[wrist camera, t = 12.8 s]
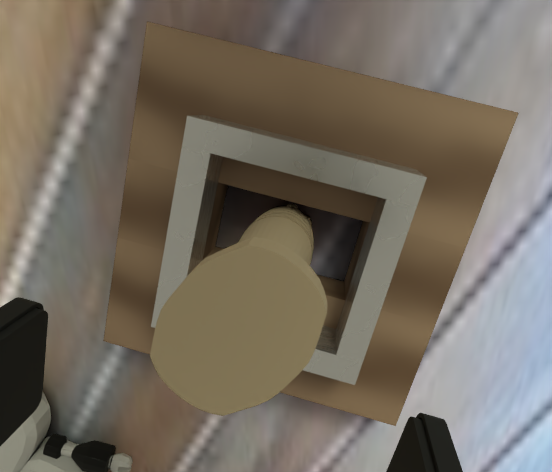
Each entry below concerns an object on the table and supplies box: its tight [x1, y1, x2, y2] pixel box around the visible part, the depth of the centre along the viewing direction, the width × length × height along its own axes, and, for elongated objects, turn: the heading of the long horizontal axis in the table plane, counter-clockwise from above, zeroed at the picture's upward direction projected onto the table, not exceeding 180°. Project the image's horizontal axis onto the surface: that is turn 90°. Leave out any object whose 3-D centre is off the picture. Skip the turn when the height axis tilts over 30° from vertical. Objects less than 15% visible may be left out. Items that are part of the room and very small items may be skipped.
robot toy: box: [0, 392, 133, 472], centre depth 34 cm, size 12×4×15 cm
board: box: [104, 22, 518, 426], centre depth 27 cm, size 20×20×3 cm
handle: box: [150, 204, 327, 416], centre depth 21 cm, size 5×6×15 cm
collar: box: [151, 115, 427, 385], centre depth 24 cm, size 12×12×3 cm
